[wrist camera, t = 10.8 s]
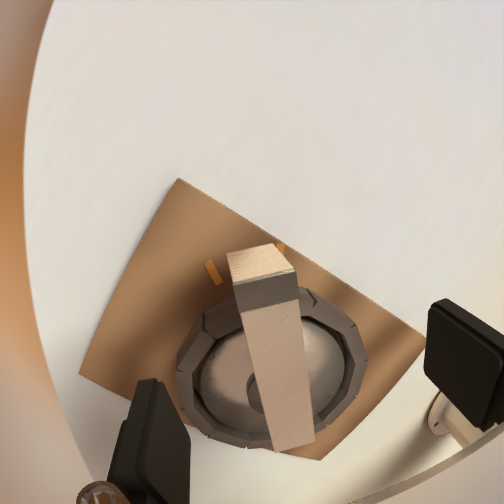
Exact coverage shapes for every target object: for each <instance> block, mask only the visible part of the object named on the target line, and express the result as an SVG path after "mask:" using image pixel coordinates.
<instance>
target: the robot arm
mask: <svg viewBox="0 0 504 504" xmlns="http://www.w3.org/2000/svg"><path fill="white" fill-rule="evenodd" d="M423 368H424V372H425V375H426V376H427V377H428V378H429V379H430V380H431V381H432V382H433V383H434V384H435V385H436V386H437V387H438V389H439V390H440V391H441V392H440V394H439V395H438V397H437V399H436V400H435V402H434V404H433V406H432V408H431V410H430V413H429V417H428V426H429V428H430V429H431V431H432V432H433V433H435V434H437V435H444V434H448V433H450V434H451V435H452V436H453V438H454V439H455V440H456V441H457V442H458V444H459V445H460V446H461V447H462V448H463V450H461V451H460V452H458V453H456V454H455V455H453V456H451V457H449V458H448V459H446V460H444V461H442V462H441V463H439V464H437V465H435V466H433V467H432V468H430V469H428V470H426V471H424V472H422V473H420V474H418V475H416V476H414V477H412V478H410V479H408V480H406V481H403V482H401V483H399V484H397V485H395V486H392V487H390V488H388V489H385V490H383V491H381V492H378V493H376V494H373V495H371V496H368V497H366V498H363V499H360V500H358V501H355V502H352V503H349V504H504V335H503V334H501V333H500V332H498V331H497V330H495V329H494V328H492V327H491V326H489V325H488V324H486V323H485V322H483V321H482V320H480V319H479V318H477V317H475V316H474V315H472V314H471V313H469V312H468V311H466V310H465V309H463V308H461V307H460V306H458V305H457V304H455V303H454V302H452V301H450V300H449V299H447V298H445V299H442V300H439V301H437V302H434V303H433V304H432V305H431V308H430V309H429V311H428V322H427V336H426V348H425V357H424V367H423ZM190 453H191V441H190V436H189V434H188V432H187V430H186V428H185V426H184V424H183V422H182V420H181V418H180V416H179V414H178V412H177V410H176V408H175V406H174V404H173V402H172V400H171V398H170V396H169V393H168V391H167V389H166V387H165V385H164V383H163V382H162V381H160V382H158V380H157V379H156V378H151V379H144V380H139V381H138V383H137V386H136V389H135V393H134V396H133V400H132V403H131V406H130V410H129V413H128V417H127V420H124V421H123V423H122V425H121V428H120V432H119V435H118V439H117V443H116V446H115V450H114V454H113V458H112V461H111V465H110V469H109V473H108V477H107V481H97V482H93V483H90V484H88V485H87V486H85V487H84V488H83V489H82V490H81V491H80V492H79V494H78V496H77V500H76V504H190Z"/></svg>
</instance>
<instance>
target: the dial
mask: <svg viewBox="0 0 504 504" xmlns="http://www.w3.org/2000/svg"><path fill="white" fill-rule="evenodd" d="M226 255H227V259H228V264H229V268H230V273H231V277H232V282H233V289H234V293H235V297H236V302H237V306H238V310H239V313H240V316H241V321H242V325H243V326H242V327H240V328H238V329H236V330H234V331H232V332H230V333H228V334H226V335H224V336H222V337H220V338H218V339H216V340H215V341H214V343H213V344H212V346H211V347H210V349H209V350H208V351H207V353H206V354H205V356H204V357H203V359H202V362H201V367H200V388H201V395H202V398H203V401H204V403H205V405H206V407H207V408H208V410H209V411H210V412H211V414H213V415H214V416H215V417H216V418H217V419H218V420H220V421H221V422H222V423H224V424H226V425H228V426H230V427H233V428H235V429H239V430H242V431H248V432H257V433H264V432H269V433H270V436H271V440H272V444H273V447H274V451H275V453H276V452H280V451H284V450H288V449H291V448H295V447H299V446H302V445H306V444H309V443H313V442H315V435H314V424H313V417H314V416H315V415H316V414H318V413H319V412H320V411H321V410H323V409H324V408H325V407H326V406H327V405H328V404H329V402H330V401H331V400H332V399H333V397H334V396H335V394H336V393H337V391H338V389H339V387H340V385H341V382H342V380H343V375H344V366H345V364H344V357H343V354H342V351H341V349H340V347H339V345H338V344H337V342H336V341H335V339H334V338H333V337H332V335H331V334H330V333H329V331H328V330H327V329H326V327H325V326H324V325H322V324H321V323H320V322H319V321H317V320H316V319H314V318H313V317H311V316H300V308H299V301H298V299H300V295H299V288H298V281H297V274H296V270H294V268H293V267H292V265H291V264H290V263H289V262H288V261H287V260H286V258H285V257H284V256H283V255H282V254H281V253H280V251H279V250H278V249H277V248H276V247H275V245H274V244H273V243H271V244H267V245H262V246H258V247H253V248H249V249H244V250H240V251H235V252H231V253H226Z"/></svg>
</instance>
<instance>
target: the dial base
mask: <svg viewBox="0 0 504 504" xmlns="http://www.w3.org/2000/svg"><path fill="white" fill-rule="evenodd" d="M271 243H273V244H274V245H275V247H276V248H277V249H278V250H279V251H280V253H281V254H282V255H283V256H284V257H285V258H286V260H287V261H288V262H289V263H290V264H291V265H292V267H293V268H294V270H296V274H297V281H298V288H299V295H300V299H298V301H299V308H300V316H311V317H313V318H314V319H316V320H317V321H319V322H320V323H321V324H322V325H324V326H325V327H326V329H327V330H328V331H329V333H330V334H331V335H332V337H333V338H334V339H335V341H336V342H337V344H338V345H339V347H340V349H341V351H342V354H343V357H344V364H345V366H344V375H343V380H342V382H341V385H340V387H339V389H338V391H337V393H336V394H335V396H334V397H333V399H332V400H331V401H330V402H329V404H328V405H327V406H326V407H325V408H324V409H323V410H321V411H320V412H319V413H318V414H316V415H315V416H314V417H313V424H314V435H315V442H313V443H309V444H306V445H302V446H299V447H295V448H291V449H288V450H284V451H280V453H285V454H289V455H294V456H298V457H303V458H308V459H313V460H319V461H320V460H321V459H323V458H324V457H325V456H326V455H327V454H328V453H329V452H330V451H332V450H333V449H334V448H335V447H336V446H337V445H338V444H339V443H340V442H341V441H342V440H343V439H344V438H346V437H347V436H348V435H349V434H350V433H351V432H352V431H353V430H354V429H355V428H356V427H357V426H358V425H359V424H360V423H361V422H362V421H363V420H364V419H365V418H366V417H367V416H368V414H369V413H370V412H371V411H372V410H373V409H374V408H375V407H376V406H377V405H378V404H379V403H380V402H381V400H382V399H383V398H384V397H385V396H386V395H387V394H388V393H389V392H390V390H391V389H392V388H393V387H394V386H395V385H396V383H397V382H398V381H399V380H400V379H401V377H402V376H403V375H404V374H405V373H406V371H407V370H408V369H409V368H410V366H411V365H412V364H413V363H414V361H415V360H416V359H417V358H418V356H419V355H420V354H421V352H422V351H423V350H424V348H425V347H426V338H425V337H424V336H423V335H422V334H421V333H419V332H418V331H416V330H415V329H413V328H412V327H410V326H409V325H407V324H406V323H405V322H403V321H402V320H400V319H399V318H397V317H396V316H394V315H393V314H391V313H390V312H388V311H387V310H385V309H384V308H382V307H381V306H379V305H378V304H376V303H375V302H373V301H372V300H370V299H369V298H367V297H366V296H364V295H363V294H361V293H360V292H358V291H357V290H355V289H354V288H352V287H351V286H349V285H348V284H346V283H345V282H343V281H342V280H340V279H339V278H337V277H335V276H334V275H332V274H331V273H329V272H328V271H326V270H325V269H323V268H322V267H320V266H319V265H317V264H316V263H314V262H312V261H311V260H309V259H308V258H306V257H305V256H303V255H302V254H300V253H298V252H297V251H295V250H294V249H292V248H291V247H289V246H288V245H286V244H284V243H283V242H281V241H280V240H278V239H277V238H275V237H273V236H272V235H270V234H269V233H267V232H266V231H264V230H262V229H261V228H259V227H258V226H256V225H254V224H253V223H251V222H250V221H248V220H247V219H245V218H243V217H242V216H240V215H239V214H237V213H235V212H234V211H232V210H230V209H229V208H227V207H226V206H224V205H222V204H221V203H219V202H218V201H216V200H214V199H213V198H211V197H209V196H208V195H206V194H205V193H203V192H201V191H200V190H198V189H196V188H195V187H193V186H192V185H190V184H188V183H187V182H185V181H183V180H182V179H180V178H178V179H177V180H176V181H175V183H174V185H173V186H172V188H171V190H170V191H169V193H168V195H167V196H166V198H165V200H164V201H163V203H162V205H161V206H160V208H159V210H158V212H157V213H156V215H155V217H154V219H153V220H152V222H151V224H150V226H149V227H148V229H147V231H146V233H145V235H144V236H143V238H142V240H141V242H140V244H139V246H138V247H137V249H136V251H135V253H134V255H133V257H132V259H131V261H130V263H129V265H128V266H127V268H126V270H125V272H124V274H123V276H122V278H121V280H120V282H119V284H118V286H117V288H116V290H115V292H114V294H113V296H112V299H111V301H110V303H109V305H108V307H107V309H106V311H105V313H104V316H103V318H102V320H101V322H100V324H99V326H98V329H97V331H96V333H95V335H94V338H93V340H92V342H91V345H90V347H89V349H88V352H87V354H86V356H85V359H84V361H83V364H82V366H81V369H80V371H79V374H80V375H82V376H84V377H86V378H88V379H89V380H91V381H93V382H95V383H97V384H99V385H101V386H102V387H104V388H106V389H108V390H110V391H112V392H114V393H116V394H118V395H120V396H122V397H124V398H127V399H129V400H131V401H132V400H133V396H134V393H135V389H136V386H137V383H138V381H139V380H144V379H151V378H156V379H157V380H158V382H160V381H162V382H163V383H164V385H165V387H166V389H167V391H168V393H169V396H170V398H171V400H172V402H173V404H174V406H175V408H176V410H177V412H178V414H179V416H180V418H181V420H182V422H183V423H185V424H188V425H191V426H193V427H196V428H198V429H199V430H200V431H201V432H202V433H203V434H204V435H205V436H206V435H208V438H211V439H214V440H217V441H220V442H223V443H227V444H230V445H233V446H237V447H240V448H245V447H246V446H247V448H248V449H254V448H264V449H268V450H272V451H274V447H273V444H272V440H271V436H270V433H269V432H264V433H257V432H248V431H242V430H239V429H235V428H233V427H230V426H228V425H226V424H224V423H222V422H221V421H220V420H218V419H217V418H216V417H215V416H214V415H213V414H211V412H210V411H209V410H208V408H207V407H206V405H205V403H204V401H203V398H202V395H201V388H200V367H201V362H202V359H203V357H204V356H205V354H206V353H207V351H208V350H209V349H210V347H211V346H212V344H213V343H214V341H215V340H216V339H218V338H220V337H222V336H224V335H226V334H228V333H230V332H232V331H234V330H236V329H238V328H240V327H242V326H243V325H242V321H241V316H240V313H239V310H238V306H237V302H236V297H235V293H234V289H233V282H232V277H231V273H230V268H229V264H228V259H227V255H226V253H231V252H235V251H240V250H244V249H249V248H253V247H258V246H262V245H267V244H271Z"/></svg>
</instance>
